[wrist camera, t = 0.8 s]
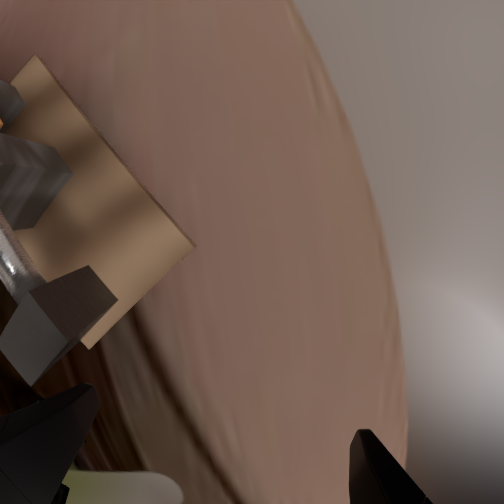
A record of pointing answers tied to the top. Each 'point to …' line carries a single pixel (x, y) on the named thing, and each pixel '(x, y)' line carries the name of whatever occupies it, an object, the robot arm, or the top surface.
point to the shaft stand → (78, 196)
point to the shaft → (46, 308)
